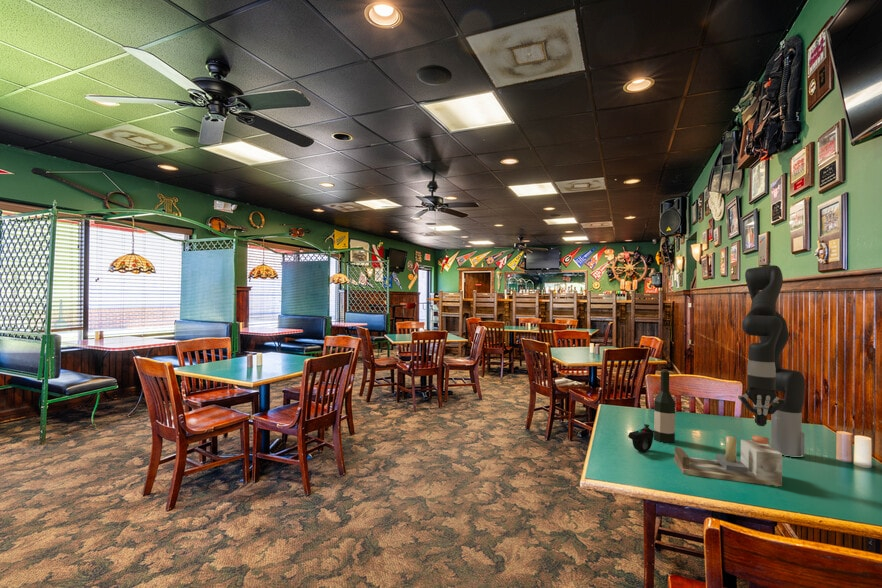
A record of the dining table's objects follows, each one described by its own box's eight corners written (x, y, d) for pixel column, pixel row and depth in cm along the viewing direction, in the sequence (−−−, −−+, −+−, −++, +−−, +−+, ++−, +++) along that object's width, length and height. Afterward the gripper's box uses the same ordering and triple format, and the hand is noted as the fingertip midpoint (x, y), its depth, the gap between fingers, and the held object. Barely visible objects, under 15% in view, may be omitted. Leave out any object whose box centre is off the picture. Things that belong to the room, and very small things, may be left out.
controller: (655, 450, 158) (656, 425, 158) (636, 456, 152) (636, 429, 152) (645, 447, 162) (645, 422, 162) (626, 452, 156) (626, 426, 156)
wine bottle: (669, 437, 174) (670, 368, 175) (679, 444, 166) (680, 371, 167) (649, 436, 175) (650, 367, 176) (658, 443, 167) (659, 371, 168)
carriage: (735, 461, 142) (735, 433, 142) (747, 472, 132) (747, 443, 133) (715, 458, 144) (715, 431, 144) (726, 469, 134) (726, 441, 134)
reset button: (765, 440, 137) (765, 436, 137) (771, 444, 133) (771, 440, 133) (750, 438, 138) (750, 434, 138) (755, 443, 134) (755, 438, 134)
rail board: (763, 472, 140) (764, 441, 140) (782, 487, 129) (782, 454, 129) (673, 460, 148) (674, 432, 148) (683, 474, 137) (683, 443, 137)
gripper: (778, 374, 138) (778, 424, 138) (733, 371, 142) (733, 420, 141) (790, 377, 131) (790, 431, 130) (743, 374, 134) (742, 426, 134)
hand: (760, 425), depth 136 cm, fingers closed
